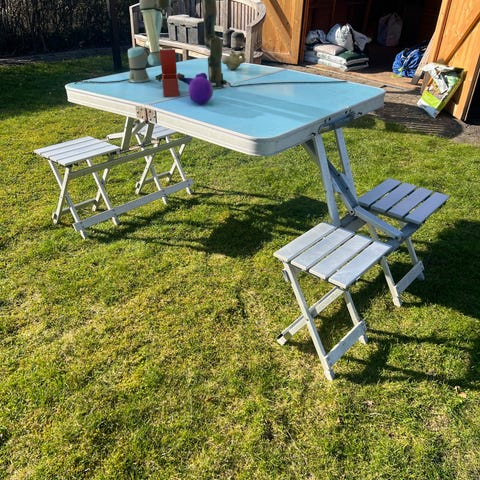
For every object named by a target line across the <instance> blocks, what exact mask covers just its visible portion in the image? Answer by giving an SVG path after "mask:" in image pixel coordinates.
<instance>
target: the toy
mask: <svg viewBox="0 0 480 480" xmlns="http://www.w3.org/2000/svg"><path fill="white" fill-rule="evenodd" d="M179 80H180V81H179ZM178 81H179V82H182V83H184V84H186V85H188V96H189V98H190V100H191V101H192V102H193V103H195V104H198V105H205V104H207V103H208V102H209V101H210V100H211V99H212V97H213V94H214V89H213V88H212V84H211V83H210V81H209V79H208V74H206V73H205V72H201V73H197V74H196V75H195V77H193V78H192V77H185V78H178Z"/></svg>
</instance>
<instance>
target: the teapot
mask: <svg viewBox="0 0 480 480" xmlns="http://www.w3.org/2000/svg"><path fill="white" fill-rule="evenodd" d="M240 57H241V59H240ZM245 61H246V56H245V53H244V52H243V51H240V52H238V53H237V54H236V52H235V50H233V49H232V50H231V51H230V53H229V56H224V57H222V58H221V64H223V65H225V66H226V68H227V69H228V70H230V71H234V70H237V69H238V68H239V67H240V66H241V64H244V63H245Z"/></svg>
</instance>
